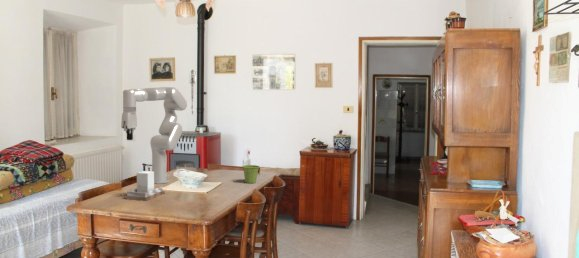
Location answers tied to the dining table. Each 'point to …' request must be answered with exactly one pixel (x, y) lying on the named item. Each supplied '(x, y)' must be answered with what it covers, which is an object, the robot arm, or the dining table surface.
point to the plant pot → (250, 173)
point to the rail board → (144, 194)
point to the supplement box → (145, 181)
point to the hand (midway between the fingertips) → (129, 139)
